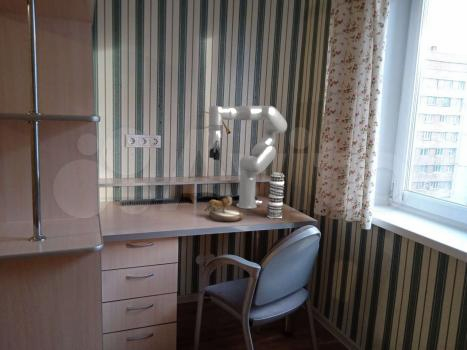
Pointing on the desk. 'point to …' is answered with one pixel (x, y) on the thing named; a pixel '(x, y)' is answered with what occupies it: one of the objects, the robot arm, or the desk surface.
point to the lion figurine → (220, 204)
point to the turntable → (226, 214)
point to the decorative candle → (275, 195)
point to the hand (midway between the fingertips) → (214, 158)
